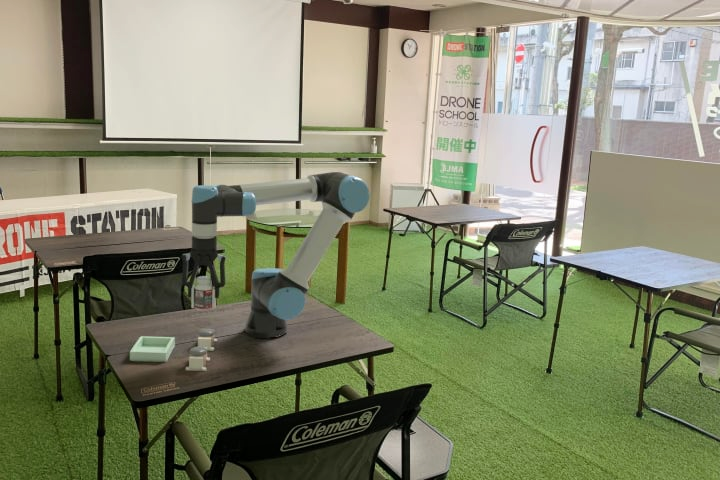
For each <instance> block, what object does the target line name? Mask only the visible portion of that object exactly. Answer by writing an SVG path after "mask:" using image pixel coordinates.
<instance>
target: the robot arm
mask: <svg viewBox="0 0 720 480" xmlns="http://www.w3.org/2000/svg"><path fill="white" fill-rule="evenodd" d="M370 194H371V193H370V189H369V186H368V184H367V183H366V182H365V180H363V179H362V178H360V177H358V176H356V175H351V174H347V173H344V172H341V171H330V172H324V173H317V174H310V175H309V174H308V175H307V177H306V178H296V179H285V180H284V179H283V180H275V181H265V182H263V181H262V182H255V183H246V184H237V185H235V184H234V185H227V184H217V185H208V184H207V185H205V184H204V185H195V186H194V187H193V188H192V193H191V195H192V196H191V234H192V237H191V249H190V250H191V251H190V252H188V253H185V252H184V253H182V255H181V260H182V273H181V277H182V278H181V285H182V287H183V286H184V287H187V297H188V298H191V300H190V301H191V305H190V306H191V308H190V309H195V307H194V290H195V285H194V284H195V283H194V282H195V280H196V278H197V274H198V271H199V268H200V266H205V267H208V269H209V273H210V277H211V278H212V283H213V289H212V309H211V310H215V308H216V307H217V306H216V305H217V304H216V302H217V299H219V298H220V297H219V296H220V288H224V287H225V285H226V265H225V264H226V263H225V262H226V259H227V255H226V254H220V253H219V252H218V249H217V248H218V247H217V243H218V242H217V241H218V237H217V234H218V231H217V230H218V217H220V218H221V217H222V218H223V217H243V218H244V217H249V216H250V217H251V216H254V214H255V212H256V209H257V206H262V205H270V204H271V205H272V204H274V205H275V204H282V203H290V202H291V203H292V202H298V201H309V202H311V203H317V202H321V205H322V210H321V211H320V214H319V215H318V216H317V218H316V220H315V221H314V223H313V225H312V226H311V228H310V230H309V231H308V233H307V234H306V236H305V237H304V239H303V241H302V242H301V244H300V246H299V248H298V249H297V251H296V252H295V253H294V256H293V257H292V259H291V260H290V262H289V264H288V265H287V267H286V268H285V269H282V268H278V267H277V268H275V267H273V268H272V267H271V268H269V267H267V268H265V267H264V268H259V269H255V270H253V271H252V273H251V279H250V280H251V290H250V291H251V293H250V311H249V314H248V317H247V320H246V323H245V326H244V331H245V333H246V334H247V335H248V336H251V337H253V338H257V337H258V338H257V339H270V338H269V337H276V336H279V335H282V334H284V333H286V332H287V333H288V331H287V330H288V322H287V321H288V320H291V319H295V318H296V317H298V316H299V315H301V313H302V312H303V311H304V309H305V307H306V303H307V302H306V295H307V293H308V291H309V289H310V287H309V280H310V279H311V277H312V276H313V274H314V272H315V271H316V269H317V267H318V266H319V265H320V263H321V261H322V259H323V258H324V257H325V254H326V253H327V251H328V250H329V248H330V247H331V245H332V243H333V241H335V238H336V237H337V236H338V233H339V232H340V230H341V229H342V227H343V225H344V223H346V222H350V221H351V220H352V219H353V217H354V216H355V214H356V213H359V212H362V211H363V210H365V209H366V207H367V206H368V204H369V201H370V198H371V197H370V196H371V195H370ZM191 258H192V260H193V261H194V265H193V269H192V272H191V274H190V275H191V276H190V277H188V274H189V260H190V259H191ZM216 259H218V260H217V261H218V262H219V277H220V278H218V275H217V274H218V273H217V271H216V267H215V263H214V261H215V260H216ZM188 278H189V281H188ZM219 279H220V280H219ZM287 333H286V334H287Z"/></svg>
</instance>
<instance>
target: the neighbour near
mask: <svg viewBox="0 0 720 480" xmlns="http://www.w3.org/2000/svg"><path fill="white" fill-rule="evenodd" d="M189 357H203V367H207V362H208V361H207V358H208V351H207V349H206V348H204V347H198V346H194V347H191V348H190V349H189Z"/></svg>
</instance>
